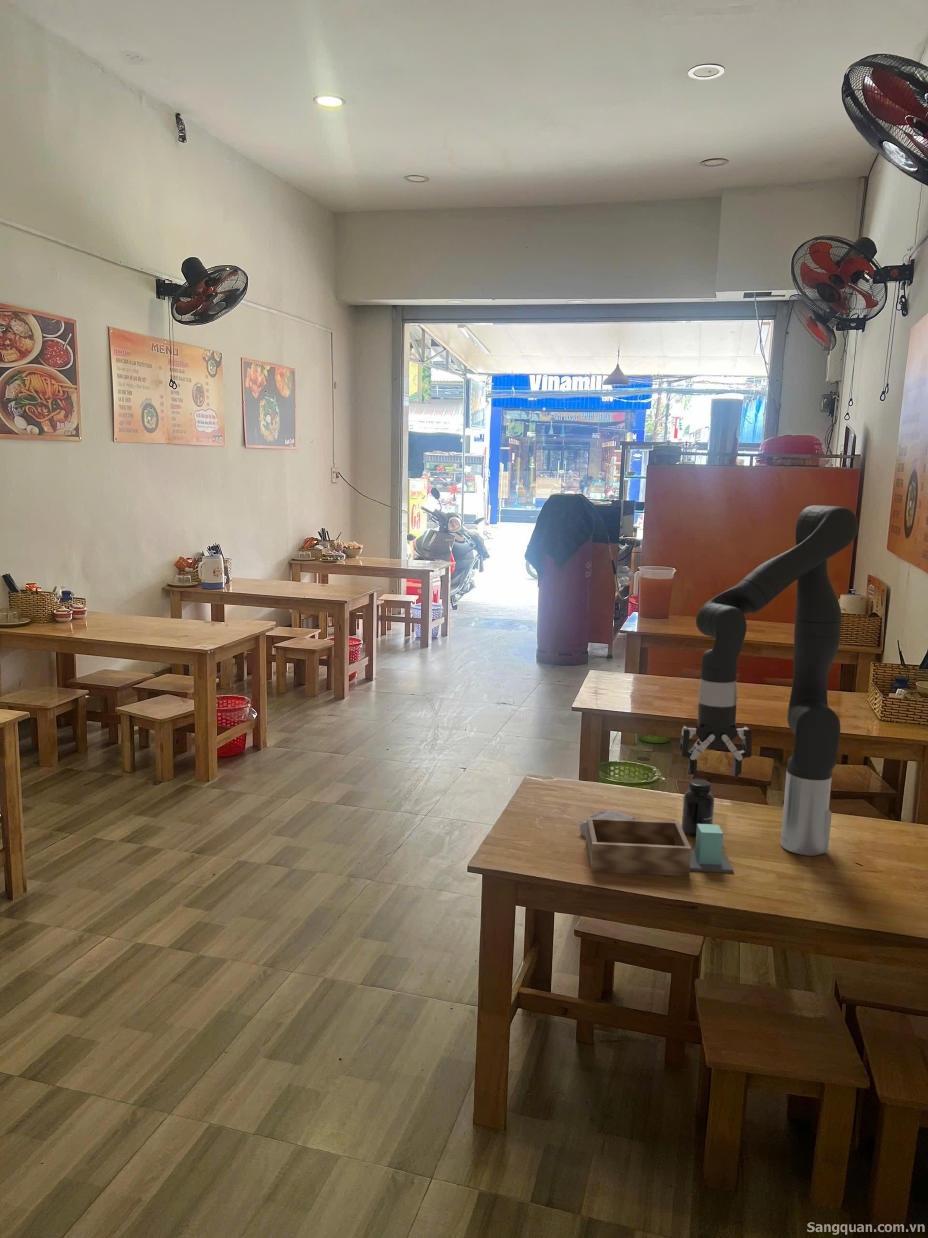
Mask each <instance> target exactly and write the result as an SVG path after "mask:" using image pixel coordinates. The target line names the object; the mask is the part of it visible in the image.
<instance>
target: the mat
mask: <svg viewBox="0 0 928 1238" xmlns="http://www.w3.org/2000/svg"><path fill="white" fill-rule="evenodd" d="M690 872H706V873H708V872H709V873H710V872H711V873H731V874H734V872H735V871H734V868H733V866H732V864H731V863H730V861H729V859H728V857H727V855H726V853H725V851H722V856H721V865H713V864H699V862H698V860H697V858H696V856H695V849H691V859H690Z"/></svg>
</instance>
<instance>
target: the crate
mask: <svg viewBox="0 0 928 1238" xmlns="http://www.w3.org/2000/svg"><path fill="white" fill-rule="evenodd" d="M589 817H590V816H589ZM589 817H587V819H586V820H587V833H586V837H585V839H586V840H585V845H586V849H587V851H586V852H587V857H588V861H589V868H590V872H595V873H596V872H598V873H613V874H615V873H617V874H618V873H619V874H639V875H640V874H641V875H657V876H658V875H661V876H679V877H680V876H682V877H689V876H690V872H691V871H690V859H691V850H692V847H691V844H690V843H689V841H688V839H687V836H686V834H685V833H684V832H683V829H682V824H681V823H680V821H676V820H675V821H673V820H656V819H655V820H650V819H635V820H634V819H611V818H589Z"/></svg>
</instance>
